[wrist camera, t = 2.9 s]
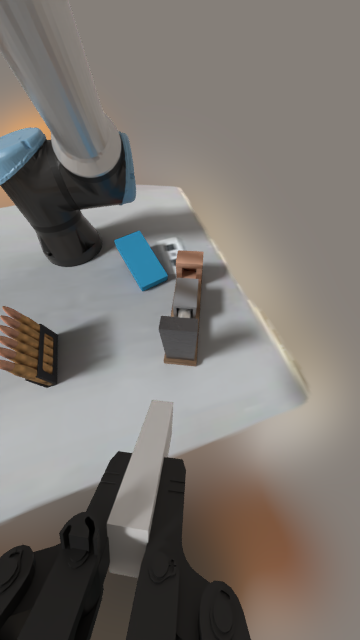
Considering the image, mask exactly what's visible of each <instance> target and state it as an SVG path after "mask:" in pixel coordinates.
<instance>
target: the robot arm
mask: <svg viewBox="0 0 360 640" xmlns="http://www.w3.org/2000/svg"><path fill="white" fill-rule="evenodd" d="M0 53H1V54H2V56H3V57H4V59H5V60H6V62H7V64H8V65H9V67H10V68H11V70H12V72H13V73H14V75H15V76H16V78H17V79H18V81H19V82H20V84H21V86H22V87H23V89H24V90H25V92H26V93H27V95H28V97H29V98H30V100H31V101H32V102H33V104H34V106H35V107H36V109H37V111H38V112H39V114H40V115H41V117H42V118H43V120H44V121H45V123H46V125H47V126H48V128H49V129H50V131H51V140H47V139H46V137H45V134H43V133H42V131H41V130H40V129H38V128H25V129H21V130H18V131H15V132H12V133H9V134H7V135H5V136H2V137H0V186H1V187H2V188H3V189H4V191H5V192H6V193H7V194H8V196H9V197H10V199H11V200H12V201H13V202H14V204H15V205H16V206H17V208H18V209H19V210H20V211H21V213H22V214H23V215H24V217H25V218H26V219H27V220H28V222H29V223H30V224H31V226H32V227H33V228H34V230H35V231H36V233H37V236H38V239H39V241H40V244H41V247H42V250H43V252H44V254H45V255H46V257H47V258H48V259H49V260H50V261H51V262H52V263H53V264H55V265H58V266H65V267H68V266H75V265H79V264H82V263H85V262H87V261H89V260H90V259H92V258H93V257H94V256H96V255H97V254H98V252H99V251H100V249H101V247H102V240H101V238H100V236H99V234H98V232H97V230H96V229H95V228H94V227H93V226H92V225H91V224H90V223H89V221H88V220H87V219H86V218H85V217H84V216H83V215H82V213H81V211H80V210H81V209H89V208H96V207H104V206H112V205H123V204H126V203H131V202H133V201H134V200H135V197H136V184H135V176H134V167H133V160H132V153H131V148H130V143H129V140H128V136H127V135H126V134H125V133H121V132H118V130H117V128H116V126H115V124H114V122H113V121H112V120H111V119H110V118H109V117H108V116H107V115H106V114H105V113H104V112H103V110H102V106H101V103H100V100H99V96H98V93H97V90H96V87H95V83H94V80H93V77H92V74H91V70H90V67H89V64H88V61H87V58H86V55H85V51H84V48H83V45H82V41H81V38H80V35H79V32H78V28H77V25H76V22H75V19H74V16H73V13H72V9H71V6H70V3H69V0H0ZM172 416H173V402H165V401H156V400H152V402H151V404H150V407H149V410H148V412H147V415H146V418H145V421H144V423H143V426H142V429H141V432H140V434H139V437H138V440H137V442H136V445H135V448H134V451H133V453H127V452H120V451H118V452H117V453H116V455H115V456H114V457H113V458H112V459H111V460H110V462H109V464H108V466H107V468H106V471H105V473H104V475H103V477H102V479H101V482H100V483H99V485H98V487H97V490H96V492H95V494H94V496H93V498H92V500H91V503H90V505H89V506H88V509H87V511H86V512H82V513H79V514H77V515H75V516H73V518H71V519H70V520H69V521H68V522H67V523H66V524H65V525H64V527H63V529H62V530H61V531H60V533H59V534H60V540H61V544H58V545H56V546H53V547H50V548H46V549H43V550H39V551H36V552H33V551H32V550H31V548H30V547H29V546H26V545H21V546H17V547H14V548H12V549H11V550H9V551H8V552H6V553H5V554H3V556H1V557H0V640H90V638H91V635H92V631H93V628H94V625H95V621H96V618H97V614H98V611H99V608H100V604H101V601H102V595H103V590H104V588H103V584H104V580H105V577H106V574H107V571H108V567H109V570H110V573H115V574H121V575H126V576H131V577H136V578H138V582H137V587H136V592H135V597H134V602H133V607H132V612H131V617H130V622H129V627H128V632H127V637H126V640H251V639H250V635H249V631H248V627H247V624H246V620H245V616H244V612H243V610H242V607H241V604H240V602H239V599H238V597H237V596H236V594H235V593H234V591H233V590H232V589H231V587H229V586H228V585H227V584H225V583H224V582H221V581H213V582H212V583H210V582H208V581H207V580H206V579H204V578H203V577H202V576H200V575H199V574H198V573H196V572H195V571H194V570H193V569H192V568H191V567H190V565H189V563H188V562H187V560H186V558H185V556H184V553H183V548H182V522H183V507H184V506H183V504H184V490H185V474H186V469H185V466H184V463H183V460H182V459H175V458H168V453H169V447H170V441H171V435H172Z"/></svg>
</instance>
